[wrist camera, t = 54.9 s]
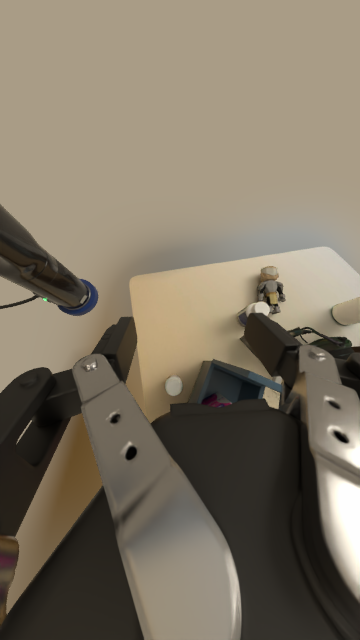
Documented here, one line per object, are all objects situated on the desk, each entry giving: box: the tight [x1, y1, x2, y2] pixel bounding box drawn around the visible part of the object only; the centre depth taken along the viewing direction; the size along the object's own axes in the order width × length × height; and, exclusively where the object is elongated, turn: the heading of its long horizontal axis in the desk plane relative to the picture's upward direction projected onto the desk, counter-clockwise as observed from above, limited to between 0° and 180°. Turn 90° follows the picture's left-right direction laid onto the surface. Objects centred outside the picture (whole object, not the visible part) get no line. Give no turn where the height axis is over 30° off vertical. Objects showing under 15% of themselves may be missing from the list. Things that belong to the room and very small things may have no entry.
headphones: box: [287, 327, 355, 360], centre depth 41 cm, size 13×13×20 cm
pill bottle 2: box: [237, 302, 270, 327], centre depth 43 cm, size 5×5×10 cm
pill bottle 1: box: [165, 375, 183, 396], centre depth 38 cm, size 4×4×8 cm
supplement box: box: [201, 392, 232, 407], centre depth 34 cm, size 6×6×12 cm
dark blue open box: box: [188, 361, 265, 404], centre depth 37 cm, size 17×13×10 cm
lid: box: [212, 359, 282, 393], centre depth 25 cm, size 18×13×5 cm
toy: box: [257, 266, 285, 314], centre depth 48 cm, size 8×5×15 cm
